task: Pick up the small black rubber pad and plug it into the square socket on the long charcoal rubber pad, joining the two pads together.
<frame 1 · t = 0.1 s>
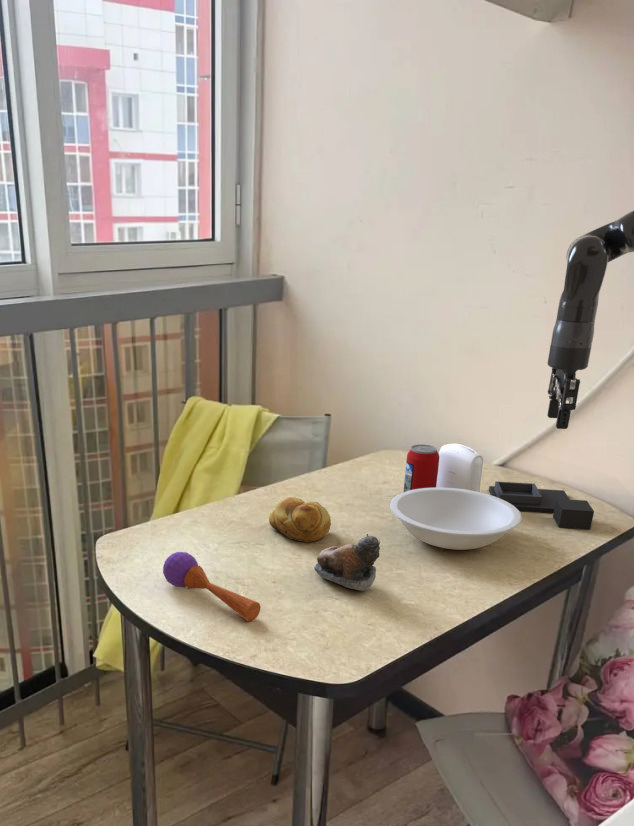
hand: (556, 422, 160), 18 cm above the table, tool pointing down, fingers open, 8 cm apart
soup bowl: (450, 541, 149), on the table
bread roll: (298, 534, 152), on the table
base pad: (530, 501, 168), on the table
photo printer: (455, 501, 168), on the table
bison figurine: (346, 584, 132), on the table
beverage can: (418, 502, 168), on the table
purple toy maraca: (209, 600, 127), on the table
black pad: (571, 523, 157), on the table
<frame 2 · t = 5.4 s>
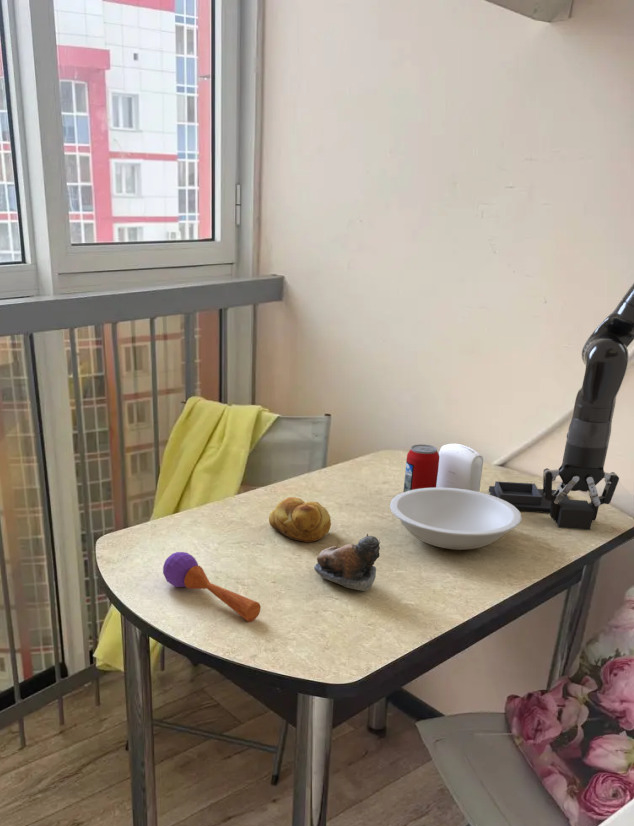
hand: (571, 520, 157), 1 cm above the table, tool pointing down, fingers closed on black pad, 6 cm apart
black pad: (571, 523, 157), on the table, touching gripper
everything else where it was.
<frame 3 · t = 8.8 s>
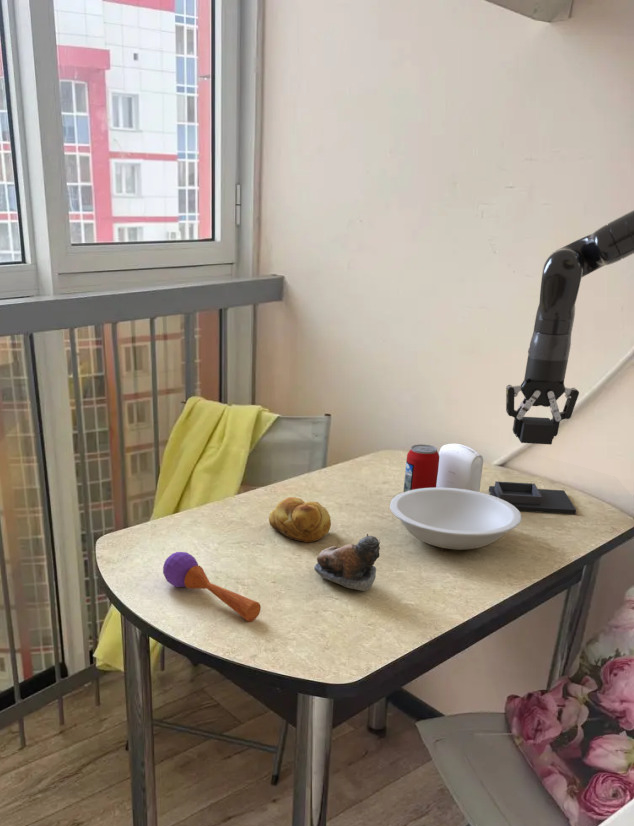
hand: (534, 436, 160), 15 cm above the table, tool pointing down, fingers closed on black pad, 6 cm apart
black pad: (533, 439, 161), point 14 cm above the table, touching gripper
everything else where it was.
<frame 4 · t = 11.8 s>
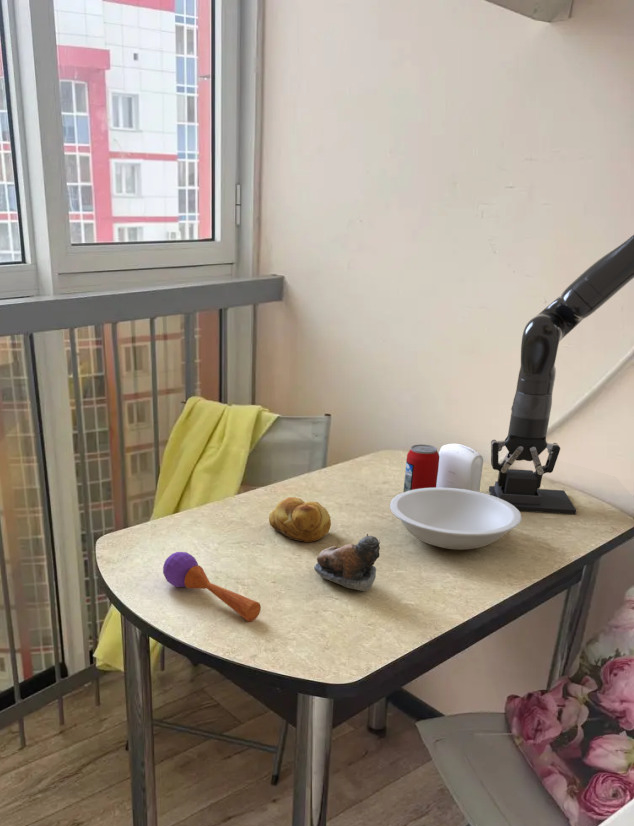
hand: (518, 488, 167), 3 cm above the table, tool pointing down, fingers closed on black pad, 6 cm apart
black pad: (517, 491, 167), point 2 cm above the table, touching gripper
everything else where it was.
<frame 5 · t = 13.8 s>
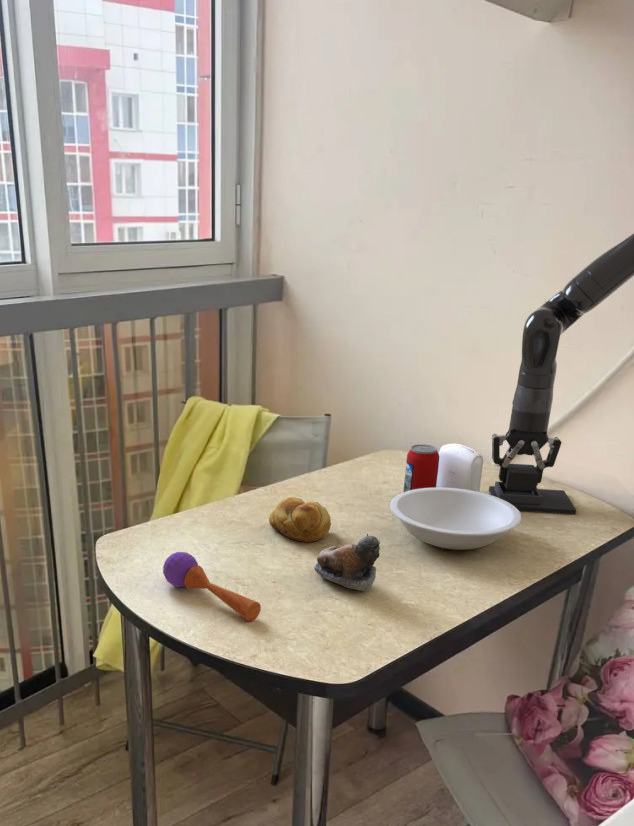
hand: (519, 483, 166), 4 cm above the table, tool pointing down, fingers closed on black pad, 6 cm apart
black pad: (518, 486, 167), point 3 cm above the table, touching gripper
everything else where it was.
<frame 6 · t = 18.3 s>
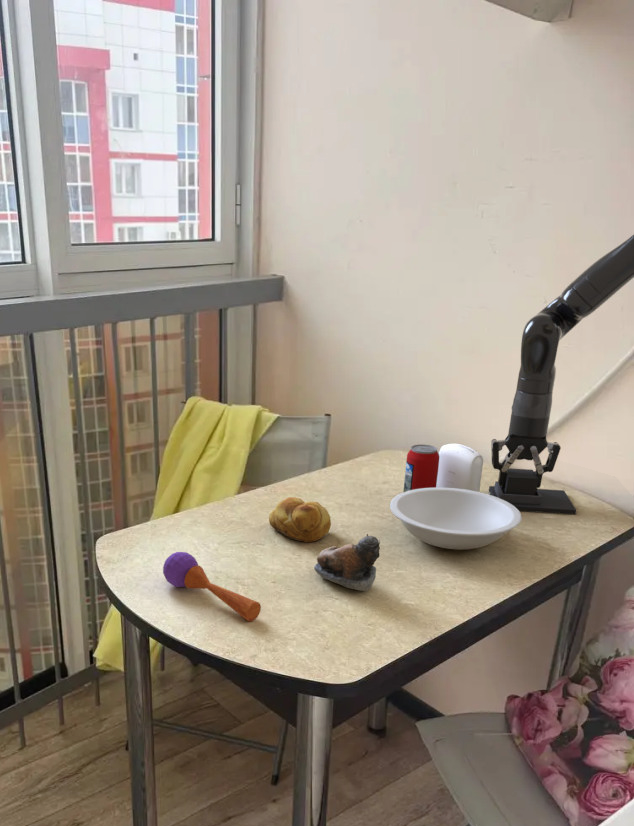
hand: (518, 488, 167), 3 cm above the table, tool pointing down, fingers closed on black pad, 6 cm apart
black pad: (517, 490, 167), point 2 cm above the table, touching gripper
everything else where it was.
when the fingers open (4 cm above the table, at t = 22.5 s): black pad drops 2 cm, resting on base pad.
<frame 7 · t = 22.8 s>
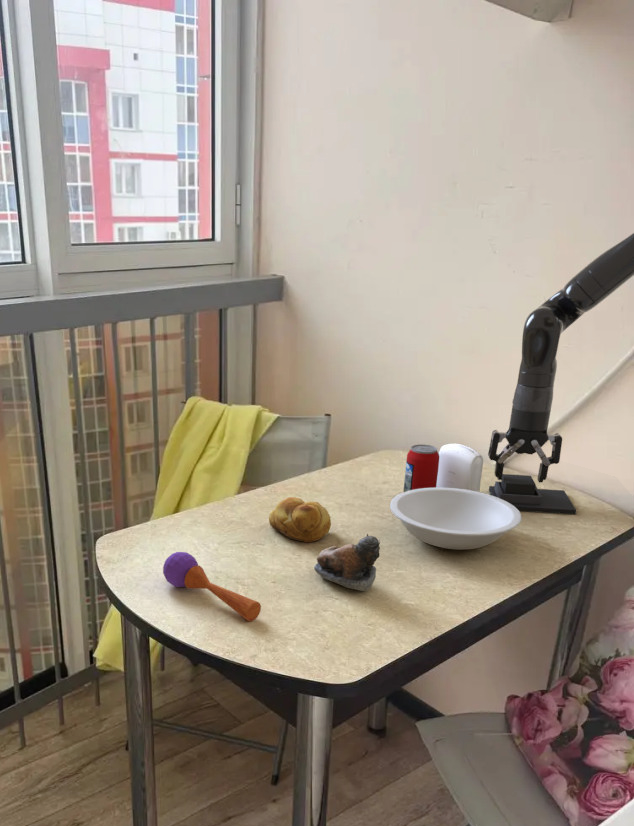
hand: (519, 480, 166), 5 cm above the table, tool pointing down, fingers open, 8 cm apart
black pad: (515, 496, 168), point 1 cm above the table, touching base pad
everything else where it was.
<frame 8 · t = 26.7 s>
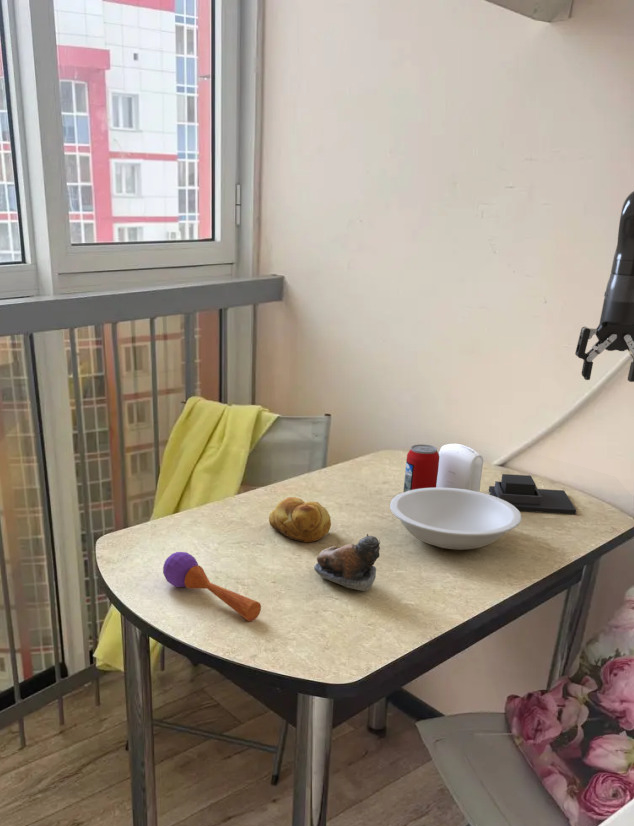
hand: (608, 380, 159), 26 cm above the table, tool pointing down, fingers open, 8 cm apart
nothing on the table moved.
at the end: black pad 0.2 cm from the target spot on the base pad, point 1.0 cm above the base pad's base; black pad tilted 0°; the gripper is holding nothing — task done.
